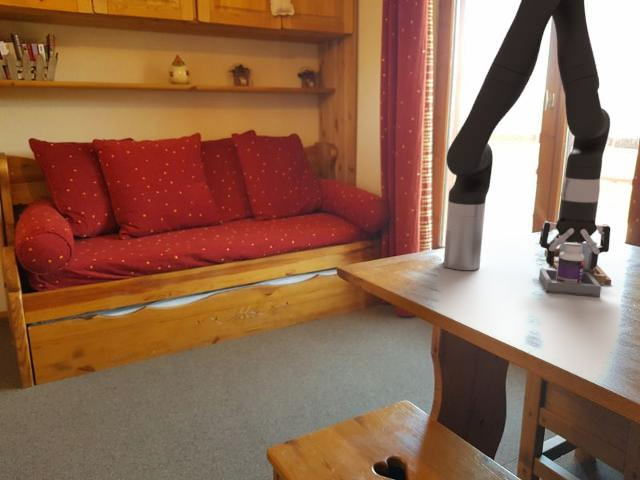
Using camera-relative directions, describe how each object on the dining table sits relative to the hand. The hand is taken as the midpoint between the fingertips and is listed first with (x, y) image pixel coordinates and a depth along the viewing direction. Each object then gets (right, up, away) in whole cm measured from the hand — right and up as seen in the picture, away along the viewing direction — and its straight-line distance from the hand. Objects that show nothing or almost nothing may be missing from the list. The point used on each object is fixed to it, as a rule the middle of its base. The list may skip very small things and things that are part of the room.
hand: (570, 267), depth 119 cm
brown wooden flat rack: (+9, -1, +17) cm, 19 cm away
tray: (0, -5, +1) cm, 5 cm away
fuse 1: (+11, +1, +25) cm, 27 cm away
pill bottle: (0, -4, +1) cm, 5 cm away
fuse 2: (+7, -3, +9) cm, 12 cm away
